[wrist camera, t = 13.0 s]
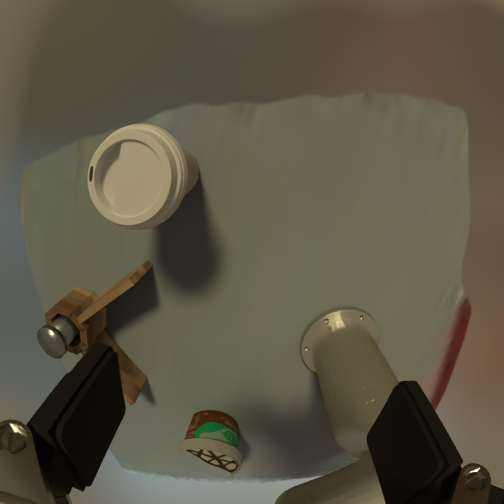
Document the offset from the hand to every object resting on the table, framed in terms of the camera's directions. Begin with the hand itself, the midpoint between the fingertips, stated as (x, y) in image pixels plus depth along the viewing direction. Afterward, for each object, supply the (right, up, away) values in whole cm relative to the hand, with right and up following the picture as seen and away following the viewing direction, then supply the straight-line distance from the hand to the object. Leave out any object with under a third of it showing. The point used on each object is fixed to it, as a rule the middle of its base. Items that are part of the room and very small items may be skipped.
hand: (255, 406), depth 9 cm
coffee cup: (-10, +15, +28) cm, 33 cm away
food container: (-5, -26, +40) cm, 49 cm away
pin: (-28, -5, +34) cm, 44 cm away
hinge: (-19, -6, +34) cm, 40 cm away
